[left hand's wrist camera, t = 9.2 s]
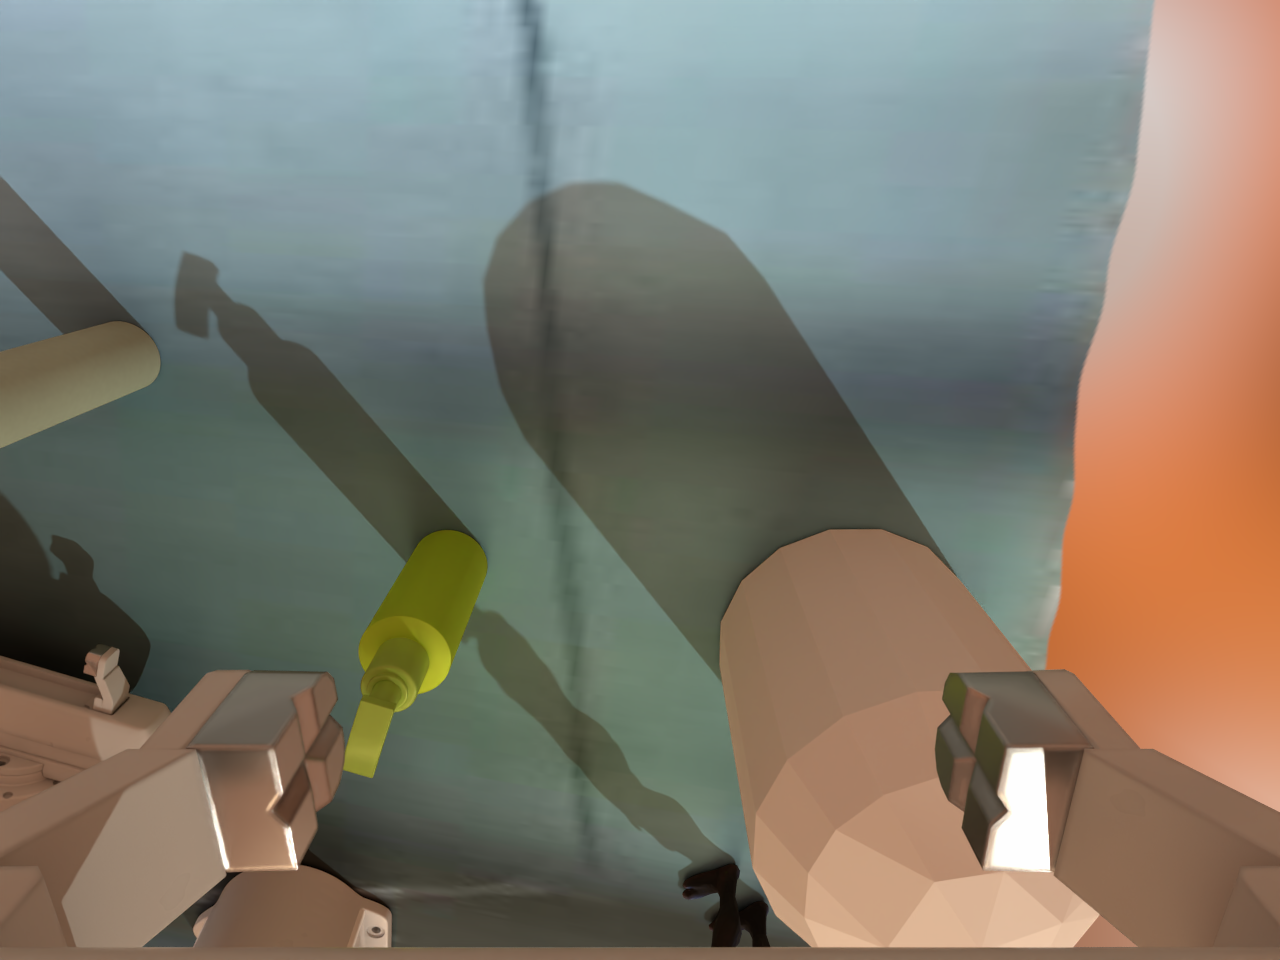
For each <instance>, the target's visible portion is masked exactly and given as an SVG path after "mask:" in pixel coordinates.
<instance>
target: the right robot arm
mask: <svg viewBox="0 0 1280 960" xmlns="http://www.w3.org/2000/svg"><path fill="white" fill-rule="evenodd" d="M119 652H120V650H119V649H117V648H114V647H110V646H107V645H103V644H97V645H96V647H95V648H94V649H91V650H90V651H89V652H88V654H87V656H86V659H85V662H86V663H87V664H86V665H85V666H84V671H83V673H86V674H89V675H92V676H94V678H95V681H96V683H97V684H96V683H92V682H89V681H86V680H82V679H79V678H75V677H72V676H69V675H65V674H62V673H58V672H55V671H51V670H48V669H45V668H41V667H38V666H34V665H31V664H28V663H24V662H21V661H17V660H14V659H10V658H7V657H4V656H0V812H2V811H4V810H6V809H8V808H10V807H12V806H14V805H16V804H18V803H20V802H22V801H24V800H26V799H28V798H30V797H32V796H34V795H36V794H38V793H40V792H42V791H44V790H46V789H48V788H50V787H52V786H54V785H56V784H58V783H60V782H62V781H64V780H66V779H68V778H70V777H72V776H74V775H76V774H78V773H80V772H82V771H84V770H86V769H88V768H90V767H92V766H94V765H96V764H98V763H100V762H102V761H104V760H106V759H108V758H110V757H112V756H114V755H116V754H118V753H120V752H122V751H124V750H126V749H140V748H141V747H142V745H143V744H144V743H145V742H146V741H147V740H148V739H149V738H150V736H151V735H152V734H153V733H154V732H155V731H156V730H157V729H158V727H159V726H160V725H161V724H162V723H163V722H164V721H165V719H166V718H167V717H168V716H169V715H170V714H171V712H170V710H169V709H168V707H167V706H166V705H165V704H164V703H161V702H157V701H154V700H151V699H147V698H144V697H140V696H137V695H133V694H130V693H129V687H130V685H129V683H128V682H127V680H126V678H125V676H124V674H123V672H122V671H121V669H120V667H119V666H118V665H117V664H118V658H119ZM193 932H194V934H195V936H196V937H197V940H196V942H195V944H194V946H193V947H391V934H392V914H391V912H390V910H389V909H388V908H386V907H385V906H383V905H381V904H379V903H377V902H374V901H371V900H369V899H366V898H363V897H362V896H360V895H359V894H357V893H356V892H355V891H353V890H352V889H351V888H350V887H349V886H347V885H346V884H345V883H343V882H342V881H341V880H339V879H337V878H336V877H334V876H332V875H330V874H328V873H326V872H323V871H321V870H318V869H315V868H312V867H308V866H304V865H300V866H299V868H298V870H286V871H251V872H242V873H240V874H239V875H237V876H236V877H234V878H233V879H232V880H231V881H230V882H229V883H228V884H227V885H226V886H225V888H224V889H223V891H222V893H221V895H220V897H219V899H218V901H217V902H216V904H215V905H214V906H212V907H211V908H209V909H208V910H206V911H205V912H203V913H202V914H201V915H200V916H199V917H198V919H197V921H196V923H195V925H194V927H193Z"/></svg>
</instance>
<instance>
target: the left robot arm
mask: <svg viewBox="0 0 1280 960" xmlns="http://www.w3.org/2000/svg"><path fill="white" fill-rule="evenodd" d="M337 700H338V696H337V691H336V686H335V681H334V678H333V677H332V676H331V675H330V674H329V673H328V672H319V671H271V670H254V671H250V670H216V671H212V672H209V673H207V674H206V675H205V676H204V677H203V678H202V679H201V680H200V681H199V682H198V683H197V685H196V686H195V687H194V688H193V689H192V690H191V691H190V692H189V694H188V695H187V696H186V697H185V698H184V699H183V700H182V701H181V703H180V704H179V705H178V706H177V707H176V708H175V709H174V710H173V712H172V713H171V714H170V715H169V716H168V717H167V718H166V719H165V721H164V722H163V723H162V724H161V725H160V726H159V727H158V729H157V730H156V731H155V732H154V733H153V734H152V735H151V736H150V738H149V739H148V740H147V741H146V742H145V743H144V744H143V745H142V747H141V748H140V749H126V750H124V751H122V752H120V753H118V754H116V755H114V756H112V757H110V758H108V759H106V760H104V761H102V762H100V763H98V764H96V765H94V766H92V767H90V768H88V769H86V770H84V771H82V772H80V773H78V774H76V775H74V776H72V777H70V778H68V779H66V780H64V781H62V782H60V783H58V784H56V785H54V786H52V787H50V788H48V789H46V790H44V791H42V792H40V793H38V794H36V795H34V796H32V797H30V798H28V799H26V800H24V801H22V802H20V803H18V804H16V805H14V806H12V807H10V808H8V809H6V810H4V811H2V812H0V960H1280V812H1278V811H1276V810H1274V809H1272V808H1270V807H1268V806H1266V805H1264V804H1262V803H1260V802H1258V801H1256V800H1254V799H1252V798H1250V797H1248V796H1246V795H1244V794H1242V793H1240V792H1238V791H1236V790H1234V789H1232V788H1230V787H1228V786H1226V785H1224V784H1222V783H1220V782H1218V781H1216V780H1214V779H1212V778H1210V777H1208V776H1206V775H1204V774H1202V773H1200V772H1198V771H1196V770H1194V769H1192V768H1190V767H1188V766H1186V765H1184V764H1182V763H1180V762H1178V761H1176V760H1174V759H1172V758H1170V757H1168V756H1166V755H1164V754H1162V753H1160V752H1158V751H1156V750H1154V749H1140V748H1139V747H1138V745H1137V744H1136V743H1135V742H1134V741H1133V740H1132V739H1131V738H1130V736H1129V735H1128V734H1127V733H1126V732H1125V731H1124V730H1123V729H1122V727H1121V726H1120V725H1119V724H1118V723H1117V722H1116V721H1115V720H1114V718H1113V717H1112V716H1111V715H1110V714H1109V713H1108V712H1107V710H1106V709H1105V708H1104V707H1103V706H1102V705H1101V704H1100V703H1099V701H1098V700H1097V699H1096V698H1095V697H1094V696H1093V695H1092V694H1091V692H1090V691H1089V690H1088V689H1087V688H1086V687H1085V686H1084V685H1083V683H1082V682H1081V681H1080V680H1079V679H1078V678H1077V677H1076V676H1075V674H1073V673H1071V672H1069V671H1067V670H1064V669H1063V670H1033V671H1024V672H964V673H949V675H948V677H947V679H946V681H945V685H944V690H943V696H942V700H943V702H944V704H945V706H946V707H947V709H948V711H949V713H950V715H949V716H948V717H947V718H946V719H945V720H944V721H943V722H942V723H941V724H940V725H939V726H938V727H937V734H936V743H935V758H936V769H937V773H938V777H939V780H940V784H941V787H942V789H943V791H944V793H945V795H946V797H947V799H948V801H949V802H950V803H952V804H953V805H955V806H956V807H957V808H959V809H960V810H962V811H963V812H964V816H963V822H962V830H963V832H964V834H965V836H966V838H967V840H968V842H969V844H970V846H971V848H972V850H973V852H974V854H975V856H976V858H977V860H978V861H979V863H980V865H981V867H982V869H983V870H992V871H1028V872H1054V875H1053V876H1055V877H1056V878H1057V879H1058V880H1059V881H1061V882H1062V883H1063V884H1064V885H1065V886H1066V887H1068V888H1069V889H1070V890H1071V891H1072V892H1074V893H1075V894H1076V895H1077V896H1078V897H1080V898H1081V899H1082V900H1083V901H1084V902H1086V903H1087V904H1088V905H1089V906H1090V907H1091V908H1093V909H1094V910H1095V911H1096V912H1097V913H1099V914H1100V915H1101V916H1102V917H1103V918H1105V919H1106V920H1107V921H1108V922H1109V923H1111V924H1112V925H1113V926H1114V927H1115V928H1116V929H1118V930H1119V931H1120V932H1121V933H1122V934H1124V935H1125V936H1126V937H1127V938H1128V939H1130V940H1131V941H1132V942H1133V943H1134V944H1136V945H1137V946H1138V947H142V946H144V945H145V944H146V943H147V942H148V941H149V940H151V939H152V938H153V937H154V936H155V935H157V934H158V933H159V932H160V931H161V930H163V929H164V928H165V927H166V926H167V925H169V924H170V923H171V922H172V921H173V920H175V919H176V918H177V917H178V916H179V915H180V914H182V913H183V912H184V911H185V910H186V909H188V908H189V907H190V906H191V905H192V904H194V903H195V902H196V901H197V900H198V899H200V898H201V897H202V896H203V895H204V894H206V893H207V892H208V891H209V890H210V889H211V888H213V887H214V886H215V885H216V884H217V883H219V882H220V881H221V880H222V879H223V878H225V877H226V872H251V871H286V870H298V868H299V866H300V864H301V862H302V860H303V858H304V856H305V854H306V852H307V850H308V848H309V846H310V844H311V842H312V840H313V838H314V836H315V834H316V832H317V830H318V822H317V816H316V812H317V811H318V810H320V809H321V808H323V807H324V806H325V805H327V804H328V803H330V802H331V801H332V799H333V797H334V795H335V793H336V791H337V789H338V787H339V784H340V781H341V776H342V772H343V767H344V762H345V740H344V733H343V727H342V726H341V725H340V724H339V723H338V722H337V721H336V720H335V719H334V718H333V717H332V716H331V715H330V713H331V711H332V709H333V707H334V706H335V704H336V702H337Z"/></svg>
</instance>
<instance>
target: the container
mask: <svg viewBox="0 0 1280 960" xmlns="http://www.w3.org/2000/svg"><path fill="white" fill-rule="evenodd" d="M719 666H720V672H721V678H722V684H723V690H724V696H725V702H726V708H727V714H728V720H729V726H730V733H731V739H732V745H733V751H734V757H735V763H736V769H737V775H738V781H739V787H740V793H741V800H742V806H743V812H744V818H745V824H746V830H747V836H748V842H749V848H750V854H751V860H752V866H753V870H754V872H755V874H756V876H757V878H758V880H759V882H760V884H761V886H762V888H763V890H764V892H765V894H766V896H767V898H768V900H769V902H770V904H771V906H772V908H773V910H774V913H775V915H776V916H777V917H778V918H779V919H781V920H782V921H783V922H784V923H785V924H786V925H787V926H789V927H790V928H791V929H792V930H793V931H794V932H795V933H797V934H798V935H799V936H800V937H801V938H802V939H803V940H805V941H806V942H807V943H808V944H809V945H810V946H811V947H1074V945H1075V944H1076V943H1077V942H1078V941H1079V939H1080V938H1081V937H1082V936H1083V934H1084V933H1085V932H1086V931H1087V930H1088V928H1089V927H1090V926H1091V925H1092V924H1093V922H1094V921H1095V920H1096V919H1097V917H1098V916H1099V913H1097V912H1096V911H1095V910H1094V909H1093V908H1091V907H1090V906H1089V905H1088V904H1087V903H1086V902H1084V901H1083V900H1082V899H1081V898H1080V897H1078V896H1077V895H1076V894H1075V893H1074V892H1072V891H1071V890H1070V889H1069V888H1068V887H1066V886H1065V885H1064V884H1063V883H1062V882H1061V881H1059V880H1058V879H1057V878H1056V877H1055V876H1053V875H1054V872H1028V871H992V870H983V869H982V867H981V865H980V863H979V861H978V860H977V858H976V856H975V854H974V852H973V850H972V848H971V846H970V844H969V842H968V840H967V838H966V836H965V834H964V832H963V830H962V822H963V816H964V812H963V811H962V810H960V809H959V808H957V807H956V806H955V805H953V804H952V803H950V802H949V801H948V799H947V797H946V795H945V793H944V791H943V789H942V787H941V784H940V780H939V777H938V773H937V769H936V758H935V743H936V734H937V727H938V726H939V725H940V724H941V723H942V722H943V721H944V720H945V719H946V718H947V717H948V716H949V715H950V713H949V711H948V709H947V707H946V706H945V704H944V702H943V700H942V696H943V690H944V685H945V681H946V679H947V677H948V675H949V673H964V672H1024V671H1032V670H1031V669H1030V668H1029V666H1028V665H1027V664H1026V663H1025V661H1024V660H1023V659H1022V657H1021V656H1020V655H1019V654H1018V652H1017V651H1016V650H1015V649H1014V647H1013V646H1012V645H1011V644H1010V642H1009V641H1008V640H1007V639H1006V637H1005V636H1004V635H1003V634H1002V632H1001V631H1000V630H999V629H998V627H997V626H996V625H995V624H994V622H993V621H992V620H991V619H990V617H989V616H988V615H987V614H986V612H985V611H984V610H983V609H982V607H981V606H980V605H979V604H978V602H977V601H976V600H975V599H974V597H973V596H972V595H971V594H970V592H969V591H968V590H967V589H966V587H965V586H964V585H963V584H962V582H961V581H960V580H959V579H958V578H957V577H956V576H955V575H954V574H953V573H952V572H951V571H950V569H949V568H948V567H947V566H946V565H945V564H944V563H943V562H942V561H941V560H940V559H939V558H938V557H937V556H936V555H935V554H934V553H933V552H932V551H931V550H930V549H929V548H928V547H926V546H924V545H921V544H918V543H916V542H913V541H911V540H908V539H906V538H903V537H900V536H898V535H895V534H893V533H890V532H887V531H885V530H882V529H842V530H827V531H824V532H821V533H819V534H816V535H813V536H811V537H808V538H805V539H803V540H800V541H797V542H795V543H792V544H789V545H787V546H784V547H781V548H779V549H778V550H777V551H776V552H775V553H773V554H772V555H771V556H770V557H769V558H768V559H766V560H765V561H764V562H763V563H762V564H761V565H759V566H758V567H757V568H756V569H755V570H754V571H753V572H751V573H750V574H749V575H748V576H747V577H746V578H744V579H743V580H742V581H741V583H740V585H739V587H738V589H737V591H736V593H735V595H734V597H733V599H732V601H731V603H730V605H729V607H728V609H727V611H726V613H725V615H724V617H723V619H722V621H721V630H720V660H719Z"/></svg>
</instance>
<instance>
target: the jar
mask: <svg viewBox="0 0 1280 960" xmlns="http://www.w3.org/2000/svg"><path fill="white" fill-rule="evenodd" d="M160 364H161V361H160V354H159V351H158V349H157V346H156V345H155V343H154V341H153V340H152V339H151V337H150V336H149V335H148V334H147V333H146V332H144V331H143V330H142V329H140V328H139V327H137V326H135V325H133V324H130V323H127V322H122V321H113V322H108V323H104V324H101V325H97V326H93V327H90V328H86V329H82V330H78V331H75V332H71V333H67V334H64V335H60V336H56V337H53V338H49V339H45V340H42V341H38V342H34V343H30V344H27V345H23V346H19V347H16V348H12V349H8V350H5V351H1V352H0V448H2V447H4V446H7V445H9V444H11V443H14V442H16V441H18V440H21V439H23V438H26V437H28V436H30V435H33V434H35V433H37V432H40V431H42V430H45V429H47V428H49V427H52V426H54V425H56V424H59V423H61V422H63V421H66V420H68V419H71V418H73V417H75V416H78V415H80V414H82V413H85V412H87V411H90V410H92V409H94V408H97V407H99V406H101V405H104V404H106V403H109V402H111V401H113V400H116V399H118V398H120V397H123V396H125V395H127V394H130V393H132V392H135V391H137V390H139V389H142V388H144V387H146V386H148V385H150V384H151V383H152V382H153V381H154V380H155V379H156V377H157V376H158V373H159V371H160Z"/></svg>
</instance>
